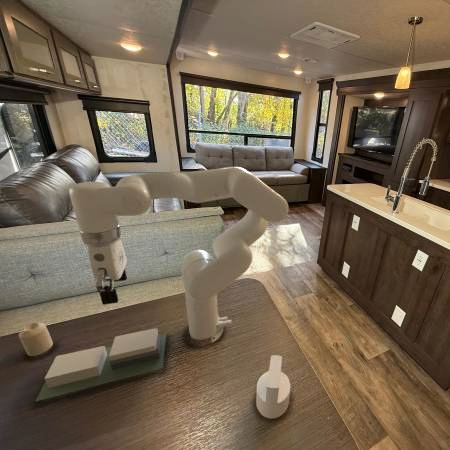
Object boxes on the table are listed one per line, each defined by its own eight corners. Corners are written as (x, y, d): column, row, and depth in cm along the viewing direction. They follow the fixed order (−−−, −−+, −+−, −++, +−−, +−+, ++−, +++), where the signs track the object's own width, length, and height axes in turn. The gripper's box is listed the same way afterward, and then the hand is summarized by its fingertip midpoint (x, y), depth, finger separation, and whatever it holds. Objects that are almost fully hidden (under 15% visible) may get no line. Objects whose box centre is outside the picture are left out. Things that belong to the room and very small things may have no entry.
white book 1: (106, 349, 74) (104, 345, 73) (98, 370, 68) (97, 366, 67) (58, 360, 69) (56, 356, 69) (46, 383, 63) (44, 379, 63)
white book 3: (158, 332, 78) (157, 327, 77) (155, 350, 72) (154, 345, 71) (116, 341, 74) (115, 336, 73) (110, 361, 68) (108, 356, 67)
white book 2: (107, 354, 74) (106, 349, 74) (100, 375, 68) (98, 370, 68) (60, 364, 70) (58, 360, 69) (48, 388, 64) (46, 383, 63)
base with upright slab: (259, 382, 72) (260, 353, 67) (290, 385, 72) (293, 356, 67) (253, 416, 64) (253, 386, 59) (287, 420, 64) (291, 389, 59)
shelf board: (166, 337, 83) (165, 334, 83) (163, 371, 72) (162, 368, 72) (59, 361, 73) (58, 357, 72) (36, 405, 62) (34, 401, 61)
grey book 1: (160, 338, 78) (159, 333, 78) (158, 353, 74) (157, 347, 73) (115, 348, 74) (113, 343, 73) (110, 364, 69) (108, 359, 68)
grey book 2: (161, 343, 79) (160, 338, 78) (159, 358, 75) (158, 353, 74) (116, 353, 75) (115, 348, 74) (111, 370, 70) (110, 364, 69)
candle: (38, 361, 72) (26, 336, 68) (23, 356, 73) (11, 331, 69) (59, 346, 77) (49, 321, 73) (44, 342, 78) (34, 317, 74)
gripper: (110, 249, 54) (125, 310, 60) (128, 219, 68) (138, 271, 75) (66, 252, 51) (86, 316, 58) (94, 221, 65) (108, 274, 72)
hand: (115, 291), depth 66 cm, fingers open, 9 cm apart
